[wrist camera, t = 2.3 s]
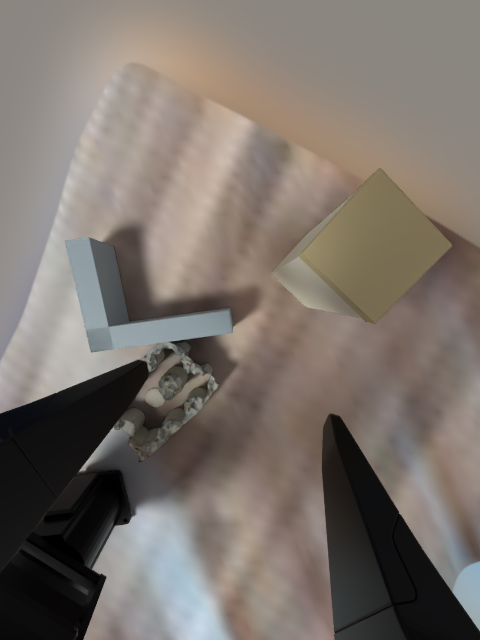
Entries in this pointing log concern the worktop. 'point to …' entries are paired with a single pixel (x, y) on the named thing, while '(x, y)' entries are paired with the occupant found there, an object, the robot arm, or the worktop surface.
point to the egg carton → (167, 389)
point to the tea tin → (363, 253)
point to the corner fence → (110, 308)
